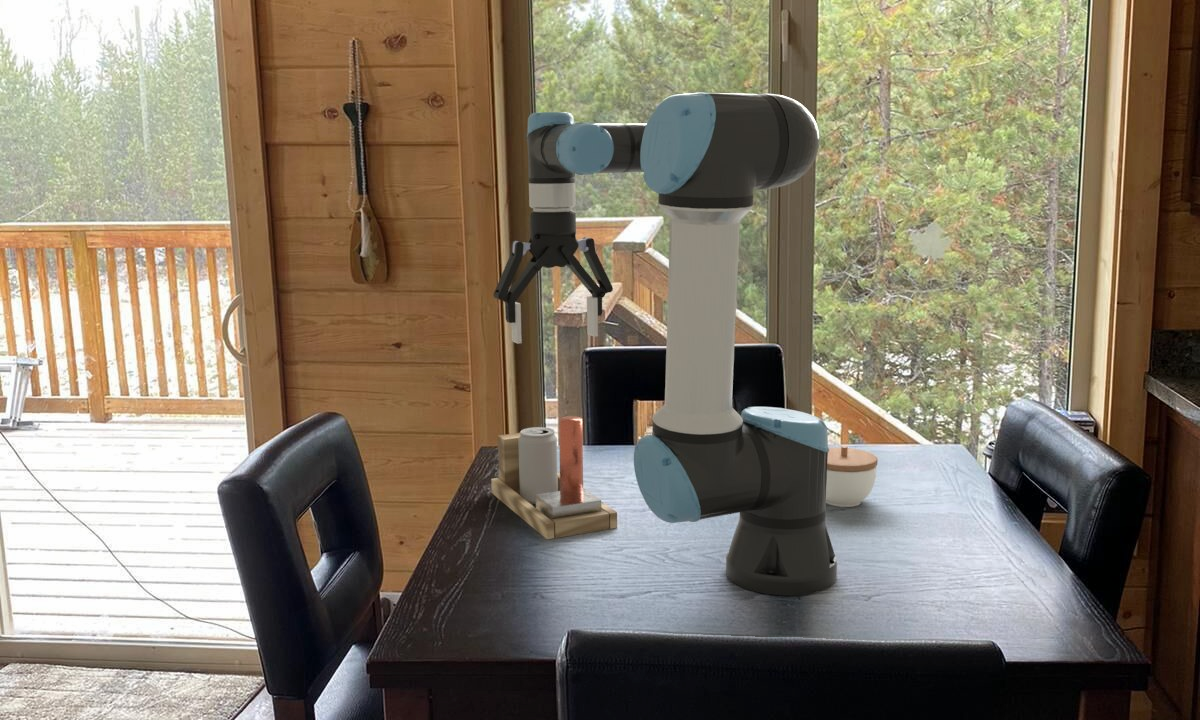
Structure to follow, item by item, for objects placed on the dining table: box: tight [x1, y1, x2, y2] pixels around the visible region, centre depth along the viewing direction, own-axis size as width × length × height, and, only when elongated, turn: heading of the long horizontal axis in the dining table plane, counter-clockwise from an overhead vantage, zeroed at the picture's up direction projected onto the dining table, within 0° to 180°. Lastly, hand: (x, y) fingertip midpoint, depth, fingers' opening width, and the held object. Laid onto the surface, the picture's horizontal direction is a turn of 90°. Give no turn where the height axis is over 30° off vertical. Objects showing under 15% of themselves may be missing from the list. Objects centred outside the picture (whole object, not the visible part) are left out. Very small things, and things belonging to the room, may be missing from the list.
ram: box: [535, 415, 602, 521], centre depth 174 cm, size 7×8×17 cm
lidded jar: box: [826, 445, 879, 508], centre depth 184 cm, size 11×11×9 cm
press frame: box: [490, 432, 618, 540], centre depth 181 cm, size 25×12×10 cm, turn 25°
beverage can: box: [518, 426, 558, 505], centre depth 186 cm, size 6×6×12 cm
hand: (555, 339), depth 185 cm, fingers open, 13 cm apart
